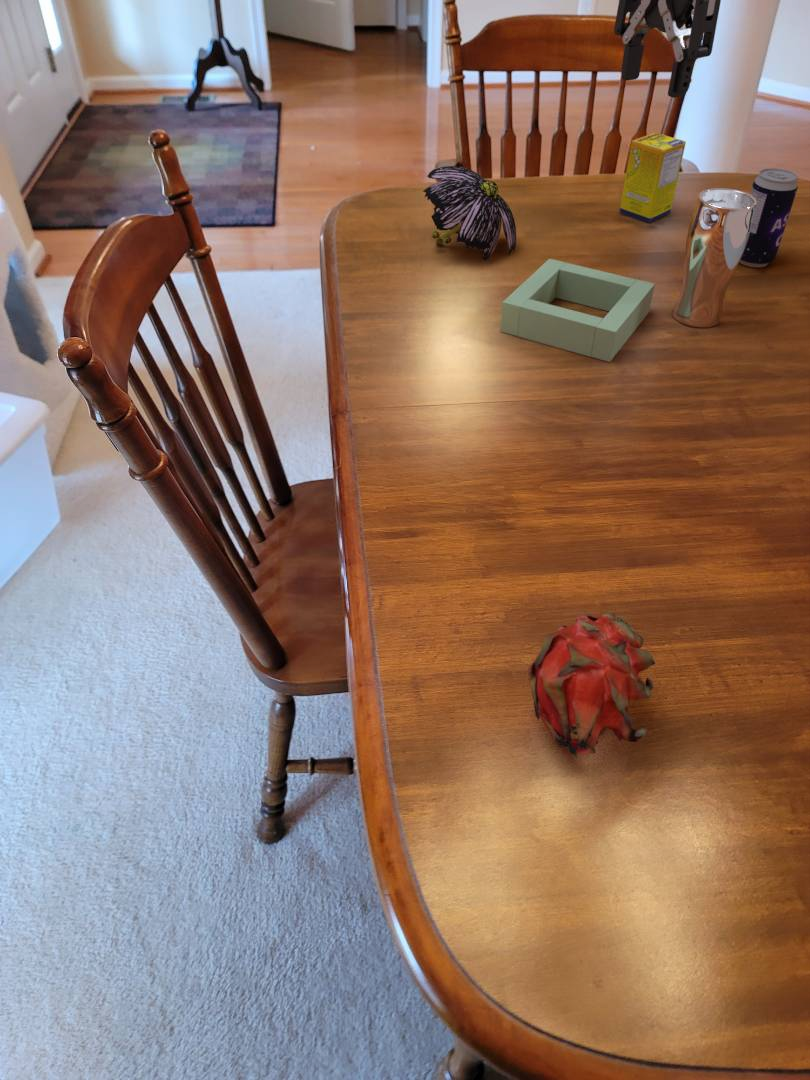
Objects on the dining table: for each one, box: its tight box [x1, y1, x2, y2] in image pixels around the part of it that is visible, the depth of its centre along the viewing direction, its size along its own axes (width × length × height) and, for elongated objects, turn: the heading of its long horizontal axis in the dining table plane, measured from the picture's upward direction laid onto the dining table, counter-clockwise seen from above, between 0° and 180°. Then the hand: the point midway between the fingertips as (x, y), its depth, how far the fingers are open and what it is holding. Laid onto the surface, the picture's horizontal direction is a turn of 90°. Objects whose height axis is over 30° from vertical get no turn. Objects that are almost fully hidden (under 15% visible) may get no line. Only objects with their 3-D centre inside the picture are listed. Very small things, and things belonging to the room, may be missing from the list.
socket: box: [499, 258, 656, 363], centre depth 104 cm, size 14×14×4 cm
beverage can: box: [739, 167, 799, 268], centre depth 115 cm, size 6×6×12 cm
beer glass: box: [672, 187, 757, 329], centre depth 102 cm, size 7×7×15 cm
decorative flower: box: [422, 165, 517, 262], centre depth 119 cm, size 15×12×15 cm
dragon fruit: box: [527, 612, 656, 758], centre depth 59 cm, size 8×8×12 cm
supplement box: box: [619, 132, 686, 224], centre depth 128 cm, size 6×6×11 cm
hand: (652, 87), depth 100 cm, fingers open, 8 cm apart
